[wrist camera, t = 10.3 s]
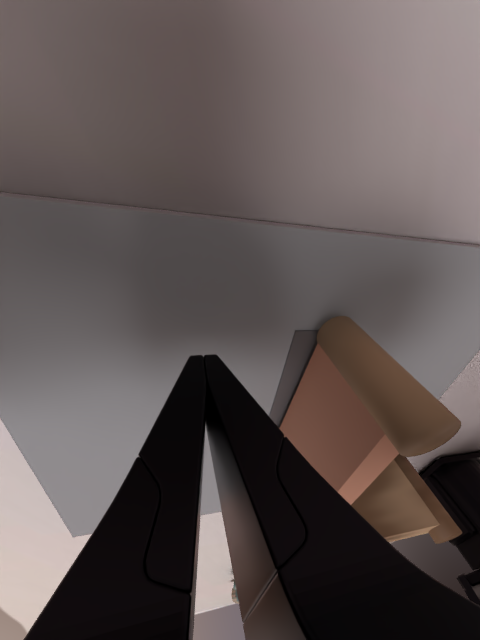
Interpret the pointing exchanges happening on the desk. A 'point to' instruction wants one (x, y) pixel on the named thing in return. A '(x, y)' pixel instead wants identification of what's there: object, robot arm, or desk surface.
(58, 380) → the card
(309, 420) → the fence panel
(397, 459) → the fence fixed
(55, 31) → the desk surface
